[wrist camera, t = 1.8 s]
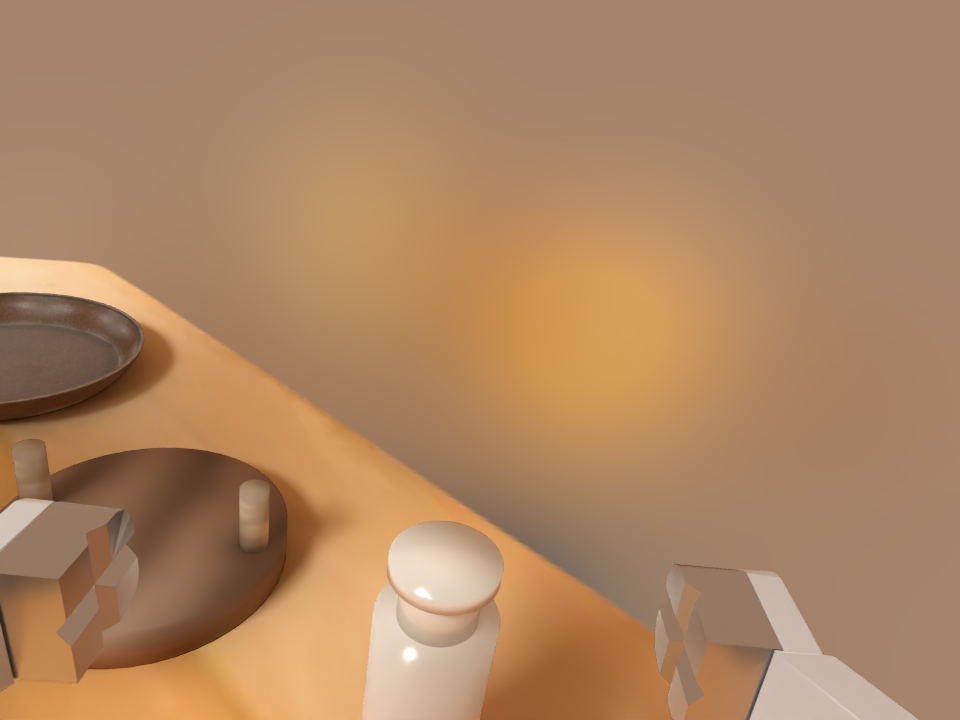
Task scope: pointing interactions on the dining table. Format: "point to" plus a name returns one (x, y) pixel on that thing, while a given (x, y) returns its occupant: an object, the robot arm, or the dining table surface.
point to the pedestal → (175, 540)
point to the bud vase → (434, 625)
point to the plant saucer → (60, 351)
